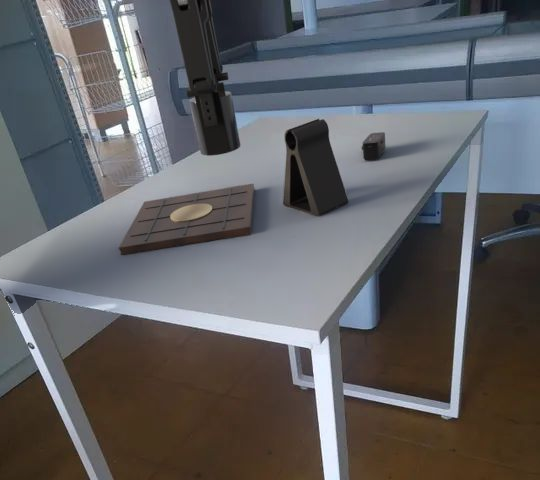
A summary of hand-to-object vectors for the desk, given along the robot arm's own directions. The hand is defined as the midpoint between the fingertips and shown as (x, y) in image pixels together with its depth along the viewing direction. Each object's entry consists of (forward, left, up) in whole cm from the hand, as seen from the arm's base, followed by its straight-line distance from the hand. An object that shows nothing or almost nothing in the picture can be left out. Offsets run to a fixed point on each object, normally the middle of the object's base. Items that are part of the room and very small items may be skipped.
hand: (221, 146), depth 67 cm
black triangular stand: (+11, +15, -15) cm, 23 cm away
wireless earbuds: (+23, +36, -15) cm, 45 cm away
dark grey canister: (0, 0, 0) cm, 0 cm away
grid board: (-9, +17, -14) cm, 24 cm away
